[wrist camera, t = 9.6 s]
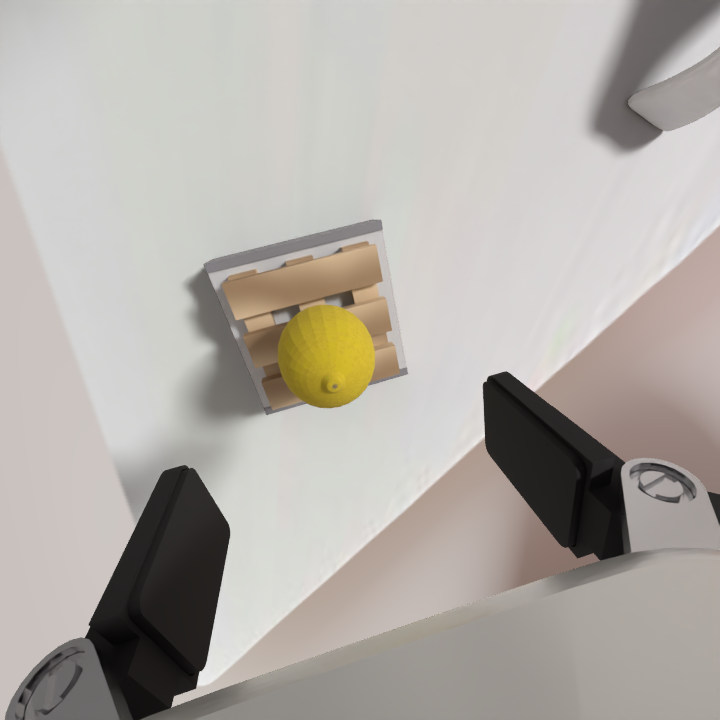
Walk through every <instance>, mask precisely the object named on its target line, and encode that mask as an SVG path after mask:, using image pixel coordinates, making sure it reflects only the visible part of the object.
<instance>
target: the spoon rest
mask: <svg viewBox="0 0 720 720" xmlns="http://www.w3.org/2000/svg"><path fill="white" fill-rule="evenodd" d="M628 105H629V106H630V108H631V109H633V110H634V111H635V112H637V113H638V114H640V115H641V116H642V117H644V118H645V119H646V120H647V121H649V122H650V123H652V124H653V125H654V126H656V127H658V128H659V129H661V130H664V131H671V130H674V129H677V128H680V127H682V126H685V125H687V124H690V123H692V122H694V121H696V120H698V119H700V118H702V117H704V116H705V115H707V114H709V113H710V112H712V111H713V110H715V109H716V108H718V107H719V106H720V47H719V48H718V49H717V50H716V51H714V52H713V53H712V54H710V55H709V56H708V57H706V58H705V59H703V60H702V61H700V62H698V63H697V64H695V65H694V66H692V67H690V68H688V69H686V70H685V71H683V72H681V73H679V74H677V75H675V76H673V77H671V78H668V79H667V80H664V81H662V82H660V83H658V84H655V85H653V86H650V87H648V88H646V89H643V90H641V91H639V92H637V93H635V94H634V95H633V96H631V97H630V99H629V100H628Z"/></svg>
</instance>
